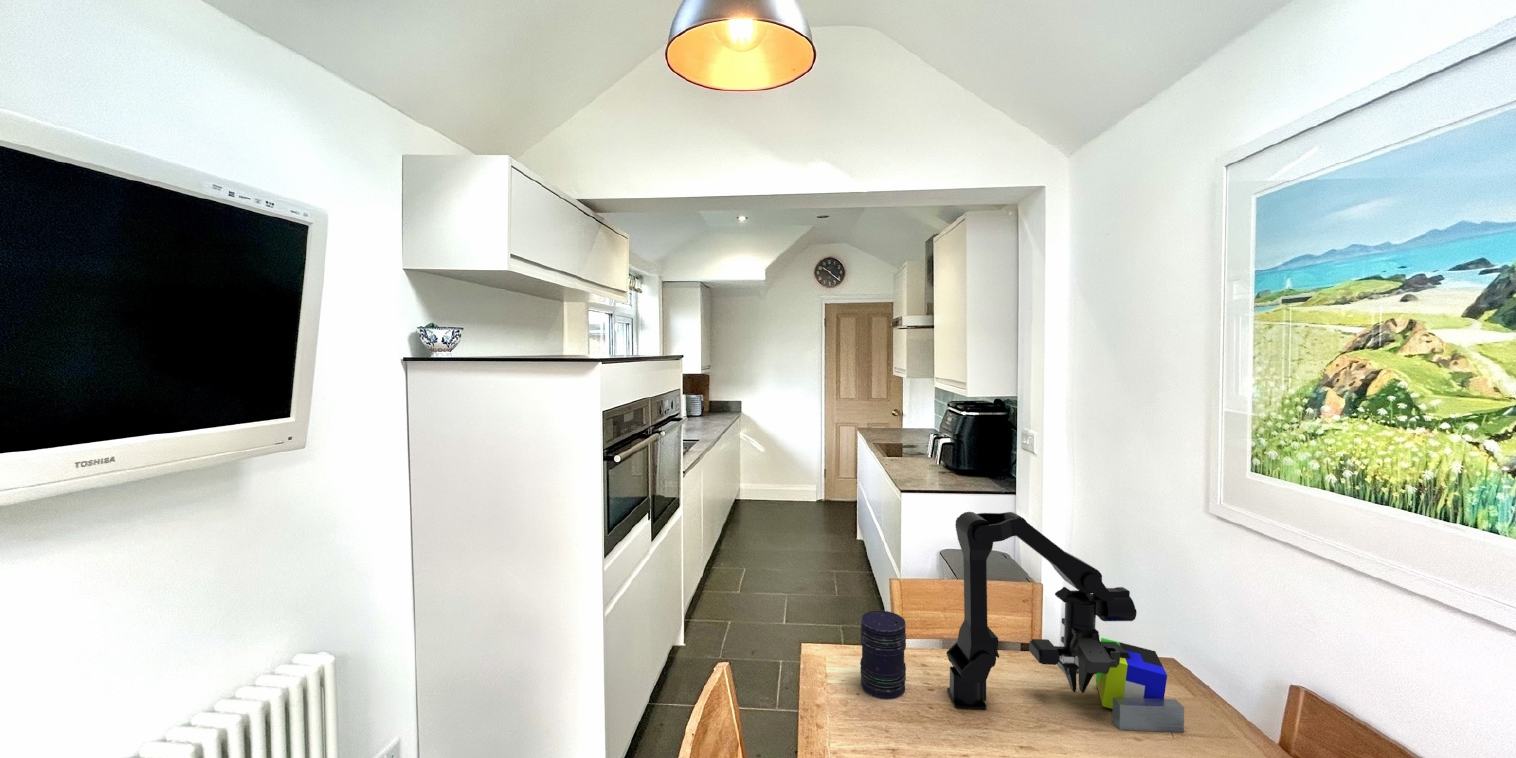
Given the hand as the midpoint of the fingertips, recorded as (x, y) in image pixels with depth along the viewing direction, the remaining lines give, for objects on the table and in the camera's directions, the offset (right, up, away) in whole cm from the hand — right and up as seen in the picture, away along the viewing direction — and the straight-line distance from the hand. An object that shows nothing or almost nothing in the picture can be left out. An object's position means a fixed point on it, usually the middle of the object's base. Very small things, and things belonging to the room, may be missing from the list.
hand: (1077, 691), depth 120 cm
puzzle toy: (+9, -1, -2) cm, 10 cm away
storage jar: (-41, -2, +5) cm, 41 cm away
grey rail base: (+9, -1, +2) cm, 9 cm away
